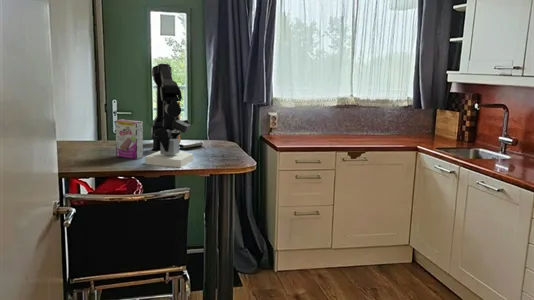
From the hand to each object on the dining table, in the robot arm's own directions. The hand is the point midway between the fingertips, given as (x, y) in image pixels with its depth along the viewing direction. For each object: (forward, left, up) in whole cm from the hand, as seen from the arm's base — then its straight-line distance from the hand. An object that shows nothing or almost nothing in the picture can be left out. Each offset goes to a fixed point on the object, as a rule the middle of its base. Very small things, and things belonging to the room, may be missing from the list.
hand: (169, 150), depth 200 cm
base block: (0, 0, -5) cm, 5 cm away
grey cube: (0, 0, -1) cm, 1 cm away
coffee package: (-18, +39, -5) cm, 43 cm away
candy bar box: (-20, +2, -5) cm, 21 cm away
